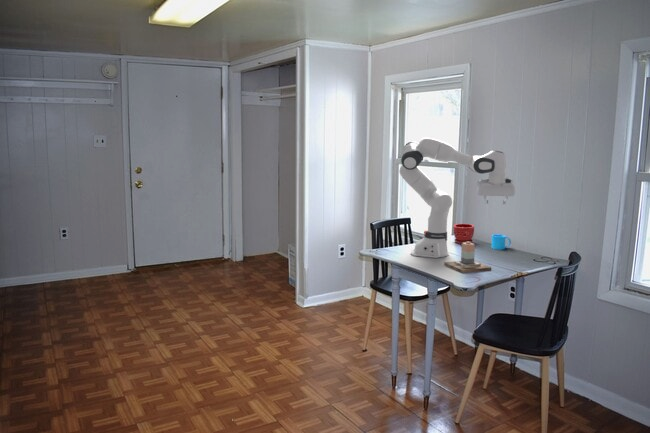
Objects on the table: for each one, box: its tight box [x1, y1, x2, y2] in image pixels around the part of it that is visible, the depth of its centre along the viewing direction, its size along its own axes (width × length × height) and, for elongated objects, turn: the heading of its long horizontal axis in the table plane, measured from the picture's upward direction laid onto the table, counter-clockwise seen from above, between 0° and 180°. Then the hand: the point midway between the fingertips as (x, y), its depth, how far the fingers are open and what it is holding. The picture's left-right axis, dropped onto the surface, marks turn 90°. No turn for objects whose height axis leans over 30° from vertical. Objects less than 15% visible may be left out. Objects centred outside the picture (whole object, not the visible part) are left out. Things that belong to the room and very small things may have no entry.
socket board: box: [443, 260, 492, 274], centre depth 285 cm, size 18×18×3 cm
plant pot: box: [453, 223, 475, 245], centre depth 345 cm, size 13×13×12 cm
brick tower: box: [460, 242, 476, 265], centre depth 284 cm, size 5×5×13 cm
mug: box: [491, 234, 512, 251], centre depth 329 cm, size 12×8×8 cm
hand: (495, 203), depth 295 cm, fingers open, 8 cm apart
